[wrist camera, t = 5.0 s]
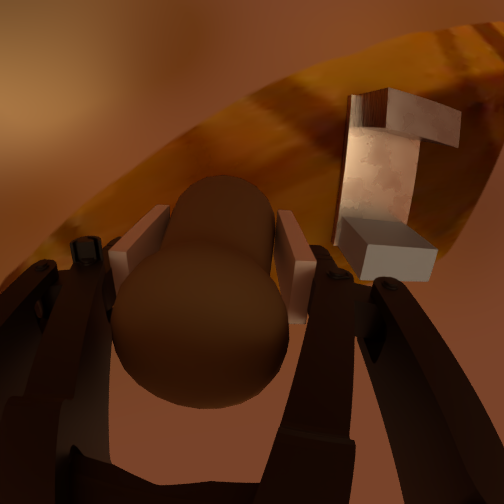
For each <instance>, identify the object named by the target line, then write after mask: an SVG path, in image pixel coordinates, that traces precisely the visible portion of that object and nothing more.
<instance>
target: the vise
mask: <svg viewBox="0 0 504 504" xmlns="http://www.w3.org/2000/svg"><path fill="white" fill-rule="evenodd" d="M460 124H461V112H460V111H458V110H455V109H453V108H450V107H447V106H445V105H442V104H439V103H437V102H434V101H431V100H428V99H425V98H422V97H419V96H416V95H413V94H409V93H406V92H403V91H399V90H396V89H392V88H384V89H380V90H376V91H372V92H368V93H364V94H360V95H349V96H348V105H347V118H346V130H345V141H344V151H343V160H342V169H341V177H340V185H339V192H338V200H337V207H336V214H335V220H334V227H333V233H332V239H331V242H332V244H333V245H334V246H338V241H339V236H340V230H341V224H342V217H352V218H362V219H372V220H382V221H391V222H400V223H404V224H407V220H408V215H409V210H410V205H411V200H412V194H413V188H414V182H415V176H416V170H417V163H418V155H419V147H420V141H424V142H430V143H435V144H441V145H446V146H451V147H456V148H458V145H459V136H460Z"/></svg>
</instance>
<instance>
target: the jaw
mask: <svg viewBox="0 0 504 504" xmlns="http://www.w3.org/2000/svg"><path fill="white" fill-rule="evenodd" d="M338 247H339V249H340V250H341V252H342V253H343V255H344V256H345V258H346V259H347V261H348V262H349V264H350V265H351V267H352V268H353V270H354V272H355V273H356V275H357V276H358V278H359V279H360V280H375V278H377V277H383V276H385V277H393V278H396V279H397V280H399V281H429V277H430V275H431V272H432V268H433V265H434V262H435V259H436V255H437V252H438V249H437V248H435V247H434V246H433V245H432V244H430V243H429V242H428V241H427V240H425V239H424V238H423V237H421V236H420V235H419V234H418V233H416V232H415V231H414V230H412V229H411V228H410V227H408V226H407V225H406V224H404V223H400V222H391V221H382V220H372V219H362V218H352V217H342V224H341V230H340V236H339V241H338Z"/></svg>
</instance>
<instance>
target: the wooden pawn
mask: <svg viewBox="0 0 504 504" xmlns="http://www.w3.org/2000/svg"><path fill="white" fill-rule="evenodd" d="M275 231H276V228H275V217H274V212H273V210H272V208H271V206H270V203H269V201H268V199H267V198H266V197H265V196H264V195H263V193H262V192H261V191H260V190H259V189H258V188H257V187H256V186H254V185H252V184H251V183H249V182H247V181H245V180H243V179H241V178H237V177H232V176H226V175H220V176H213V177H206V178H204V179H202V180H200V181H198V182H196V183H194V184H192V185H191V186H190V187H189V188H188V189H187V190H186V191H185V192H184V193H183V194H182V195H181V196H180V197H179V199H178V201H177V203H176V206H175V208H174V210H173V212H172V215H171V218H170V220H169V223H168V226H167V229H166V231H165V234H164V237H163V240H162V243H161V246H160V249H159V251H158V252H156V253H154V254H152V255H150V256H148V257H146V258H144V259H143V260H142V261H141V262H140V263H139V264H138V265H137V266H136V267H135V268H134V270H133V271H132V272H131V273H130V274H129V275H128V276H127V277H126V279H125V280H124V281H123V283H122V284H121V285H120V288H119V291H118V294H117V297H116V300H115V303H114V306H113V310H112V315H111V330H112V340H113V344H114V347H115V351H116V353H117V355H118V357H119V359H120V362H121V363H122V365H123V367H124V369H125V370H126V371H127V373H128V374H129V375H130V376H131V377H132V378H133V379H134V380H135V381H136V382H137V383H138V384H139V385H140V386H142V387H143V388H144V389H146V390H147V391H149V392H150V393H152V394H154V395H155V396H157V397H159V398H161V399H164V400H166V401H169V402H171V403H174V404H177V405H181V406H186V407H192V408H198V409H214V408H215V409H217V408H225V407H229V406H233V405H237V404H241V403H243V402H245V401H247V400H249V399H251V398H252V397H254V396H256V395H258V394H259V393H260V392H261V391H262V390H263V389H264V388H265V387H266V386H267V385H268V384H269V383H270V382H271V381H272V379H273V378H274V377H275V376H276V374H277V373H278V372H279V370H280V368H281V365H282V363H283V360H284V358H285V355H286V353H287V348H288V343H289V324H288V314H287V310H286V305H285V303H284V301H283V299H282V297H281V295H280V293H279V290H278V288H277V286H276V284H275V282H274V281H273V280H272V279H271V277H270V270H271V262H272V255H273V247H274V239H275Z"/></svg>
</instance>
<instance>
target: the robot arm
mask: <svg viewBox="0 0 504 504" xmlns="http://www.w3.org/2000/svg"><path fill="white" fill-rule="evenodd" d="M169 220H170V207H169V205H156V206H155V207H154V208H153V209H152V210H150V211H149V212H148V213H147V214H146V215H145V216H144V217H143V218H142V219H141V220H140V221H138V222H137V223H136V224H135V225H134V226H133V227H132V228H131V229H130V230H129V231H128V232H127V233H126V234H125V235H124V236H123V237H117V238H115V239H113V240H111V241H110V242H109V243H108V244H107V246H105V247H104V248H103V249H102V245H101V238H99V237H97V236H84V237H80V238H77V239H75V240H73V241H72V242H71V243H70V248H71V254H72V259H73V265H72V267H71V269H70V270H60V271H58V269H57V264H56V262H55V261H54V260H46V259H44V260H40V261H38V262H37V263H34V264H33V265H31V266H30V267H29V268H28V269H27V270H26V271H25V272H24V273H23V274H21V275H20V276H19V277H18V278H17V279H16V280H15V281H14V282H13V283H12V284H11V285H10V286H9V287H8V288H7V289H6V290H5V291H4V292H3V293H2V294H1V295H0V504H349V499H350V493H351V486H352V479H353V470H354V462H355V449H356V445H355V441H354V440H351V439H350V438H349V431H350V421H351V409H352V393H353V375H354V374H353V373H354V338H355V336H356V337H357V341H358V344H359V347H360V350H361V352H362V355H363V358H364V361H365V364H366V367H367V370H368V373H369V376H370V379H371V382H372V385H373V388H374V392H375V395H376V398H377V401H378V405H379V408H380V411H381V414H382V418H383V421H384V425H385V428H386V432H387V435H388V439H389V443H390V446H391V450H392V453H393V457H394V461H395V465H396V469H397V473H398V477H399V482H400V486H401V490H402V494H403V499H404V502H405V504H504V447H503V445H502V442H501V440H500V438H499V436H498V434H497V432H496V430H495V428H494V426H493V424H492V422H491V420H490V418H489V416H488V414H487V412H486V410H485V408H484V406H483V405H482V403H481V401H480V399H479V397H478V396H477V394H476V392H475V390H474V388H473V387H472V385H471V383H470V382H469V380H468V378H467V376H466V375H465V373H464V371H463V370H462V368H461V367H460V365H459V363H458V362H457V360H456V358H455V357H454V355H453V354H452V352H451V351H450V349H449V347H448V346H447V344H446V343H445V341H444V340H443V338H442V337H441V335H440V334H439V332H438V331H437V329H436V328H435V326H434V325H433V324H432V322H431V320H430V319H429V318H428V316H427V315H426V313H425V312H424V311H423V309H422V308H421V306H420V305H419V303H418V302H417V301H416V299H415V298H414V297H413V295H412V294H411V293H410V291H409V290H408V289H407V287H406V286H405V285H404V284H403V283H402V282H400V281H399V280H397V279H396V278H393V277H385V276H383V277H377V278H375V280H374V282H373V285H372V287H371V286H365V285H360V284H356V283H354V278H353V275H352V274H351V273H350V272H348V271H346V270H344V269H341V268H338V267H337V265H336V264H335V262H334V260H333V259H332V257H331V256H330V254H329V252H328V250H327V249H325V248H324V247H322V246H321V245H308V243H307V241H306V239H305V237H304V235H303V233H302V231H301V229H300V227H299V225H298V223H297V221H296V219H295V217H294V215H293V213H292V211H290V210H278V212H277V223H276V234H275V244H274V260H275V265H276V271H277V276H278V281H279V286H280V291H281V297H282V299H283V301H284V303H285V305H286V310H287V314H288V324H306V318H307V314H308V315H309V319H308V323H307V328H306V332H305V336H304V340H303V345H302V348H301V352H300V356H299V360H298V364H297V368H296V372H295V375H294V379H293V383H292V386H291V390H290V393H289V397H288V400H287V404H286V407H285V411H284V414H283V418H282V421H281V424H280V427H279V428H278V431H277V434H276V437H275V440H274V444H273V447H272V450H271V453H270V456H269V459H268V462H267V464H266V467H265V470H264V473H263V476H262V479H261V482H260V483H234V482H215V481H208V482H200V483H191V484H178V485H156V484H153V483H151V482H148V481H146V480H144V479H142V478H140V477H137V476H135V475H133V474H131V473H129V472H127V471H125V470H123V469H121V468H119V467H117V466H115V465H113V464H112V463H111V460H110V455H109V429H108V428H109V427H108V404H109V374H110V358H111V344H112V330H111V315H112V310H113V308H112V306H113V305H114V303H115V300H116V297H117V294H118V291H119V288H120V285H121V284H122V283H123V281H124V280H125V279H126V277H127V276H128V275H129V274H130V273H131V272H132V271H133V270H134V268H135V267H136V266H137V265H138V264H139V263H140V262H141V261H142V260H143V259H144V258H146V257H148V256H150V255H152V254H154V253H156V252H158V251H159V249H160V246H161V243H162V240H163V237H164V234H165V231H166V229H167V226H168V223H169Z"/></svg>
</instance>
